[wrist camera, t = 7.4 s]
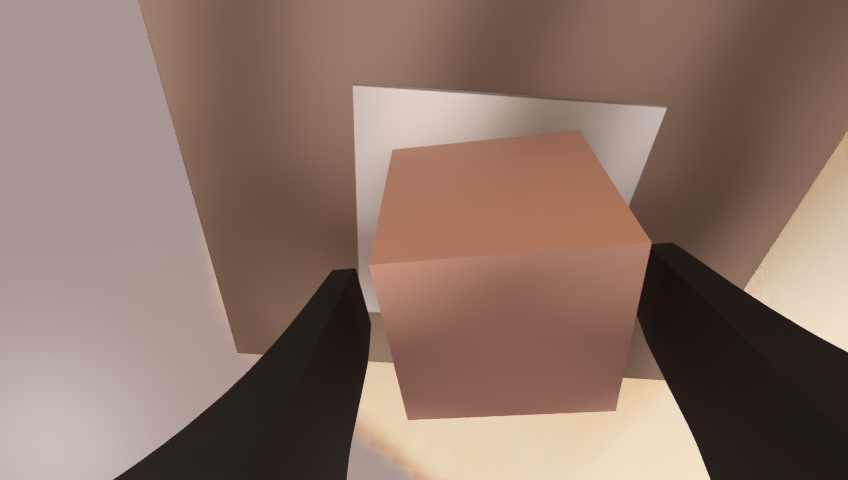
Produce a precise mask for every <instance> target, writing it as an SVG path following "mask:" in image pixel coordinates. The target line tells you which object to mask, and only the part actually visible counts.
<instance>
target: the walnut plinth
mask: <svg viewBox="0 0 848 480" xmlns="http://www.w3.org/2000/svg"><path fill="white" fill-rule="evenodd" d="M138 1H139V5H140V9H141V12H142V16H143V19H144V23H145V26H146V30H147V33H148V37H149V40H150V44H151V48H152V51H153V55H154V58H155V62H156V65H157V69H158V72H159V76H160V80H161V83H162V86H163V90H164V94H165V97H166V101H167V104H168V108H169V111H170V115H171V118H172V122H173V126H174V129H175V133H176V136H177V140H178V143H179V147H180V151H181V154H182V158H183V161H184V165H185V168H186V172H187V175H188V179H189V182H190V186H191V190H192V193H193V197H194V200H195V204H196V207H197V211H198V214H199V218H200V221H201V225H202V229H203V232H204V236H205V239H206V243H207V246H208V250H209V253H210V257H211V260H212V264H213V268H214V271H215V275H216V278H217V282H218V285H219V289H220V292H221V296H222V300H223V303H224V307H225V310H226V314H227V317H228V321H229V324H230V328H231V331H232V335H233V339H234V342H235V346H236V349H237V353H248V354H265V353H266V352H267V350H268V349H269V348H270V347H271V346H272V345H273V344H274V343H275V341H276V340H277V339H278V338H279V337H280V336H281V335H282V333H283V332H284V331H285V330H286V329H287V327H288V326H289V325H290V324H291V322H292V321H293V320H294V319H295V318H296V316H297V315H298V314H299V313H300V311H301V310H302V309H303V308H304V306H305V305H306V304H307V302H308V301H309V300H310V299H311V297H312V296H313V295H314V293H315V292H316V291H317V289H318V288H319V287H320V285H321V284H322V283H323V282H324V280H325V279H326V278H327V276H328V275H329V274H330V273H331V272H332V270H339V269H352V268H356V272H357V275H358V279H359V282H360V286H361V289H362V293H363V296H364V300H365V303H366V307H367V310H368V314H369V317H370V321H371V335H370V348H369V359H368V361H373V362H389V363H393V359H392V355H391V351H390V347H389V343H388V339H387V335H386V331H385V327H384V323H383V319H382V315H381V311H380V308H379V304H378V300H377V296H376V292H375V288H374V284H373V280H372V276H371V272H370V268H369V261H370V256H371V252H372V247H373V242H374V237H375V232H376V227H377V222H378V217H379V213H380V208H381V203H382V198H383V193H384V188H385V183H386V178H387V174H388V169H389V164H390V159H391V154H392V150H393V149H403V148H413V147H422V146H432V145H441V144H451V143H461V142H470V141H480V140H490V139H499V138H509V137H519V136H528V135H538V134H548V133H557V132H567V131H577V130H579V131H580V132H581V134H582V135H583V137H584V138H585V140H586V141H587V143H588V145H589V146H590V148H591V149H592V151H593V152H594V154H595V155H596V157H597V159H598V160H599V162H600V163H601V165H602V166H603V168H604V169H605V171H606V173H607V174H608V176H609V177H610V179H611V180H612V182H613V183H614V185H615V186H616V188H617V190H618V191H619V193H620V194H621V196H622V197H623V199H624V200H625V202H626V204H627V205H628V207H629V208H630V210H631V211H632V213H633V214H634V216H635V218H636V219H637V221H638V222H639V224H640V225H641V227H642V228H643V230H644V231H645V233H646V235H647V236H648V238H649V239H650V241H651V242H652V244H659V243H671V242H673V243H674V244H676V245H678V246H679V247H681V248H682V249H684V250H685V251H687V252H688V253H690V254H691V255H692V256H694V257H695V258H697V259H698V260H700V261H701V262H702V263H704V264H705V265H707V266H708V267H710V268H711V269H713V270H714V271H715V272H717V273H718V274H720V275H721V276H723V277H724V278H725V279H727V280H728V281H730V282H731V283H733V284H734V285H736V286H737V287H739V288H740V289H742V290H744V288H745V287H746V285H747V284H748V282H749V280H750V279H751V277H752V276H753V274H754V273H755V271H756V270H757V268H758V267H759V265H760V264H761V262H762V261H763V259H764V258H765V256H766V254H767V253H768V251H769V250H770V248H771V247H772V245H773V244H774V242H775V241H776V239H777V238H778V236H779V235H780V233H781V231H782V230H783V228H784V227H785V225H786V224H787V222H788V221H789V219H790V218H791V216H792V215H793V213H794V212H795V210H796V209H797V207H798V205H799V204H800V202H801V201H802V199H803V198H804V196H805V195H806V193H807V192H808V190H809V189H810V187H811V186H812V184H813V183H814V181H815V179H816V178H817V176H818V175H819V173H820V172H821V170H822V169H823V167H824V166H825V164H826V163H827V161H828V160H829V158H830V157H831V155H832V153H833V152H834V150H835V149H836V147H837V146H838V144H839V143H840V141H841V140H842V138H843V137H844V135H845V134H846V132H847V131H848V0H138ZM623 378H638V379H654V380H665V379H664V377H663V375H662V373H661V371H660V369H659V367H658V365H657V363H656V361H655V359H654V357H653V355H652V353H651V351H650V349H649V347H648V345H647V342H646V340H645V337H644V334H643V331H642V329H641V326H640V323H639V320H638V317H637V314H636V318H635V323H634V327H633V332H632V337H631V341H630V346H629V350H628V355H627V360H626V364H625V369H624V374H623Z"/></svg>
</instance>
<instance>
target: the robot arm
mask: <svg viewBox="0 0 848 480" xmlns="http://www.w3.org/2000/svg"><path fill="white" fill-rule="evenodd" d="M636 314H637V317H638V320H639V323H640V326H641V329H642V331H643V334H644V337H645V340H646V342H647V345H648V347H649V349H650V351H651V353H652V355H653V357H654V359H655V361H656V363H657V365H658V367H659V369H660V371H661V373H662V375H663V377H664V379H665V381H666V383H667V385H668V386H669V388H670V390H671V392H672V394H673V396H674V398H675V400H676V402H677V404H678V406H679V408H680V410H681V412H682V414H683V416H684V418H685V420H686V422H687V424H688V426H689V428H690V430H691V432H692V435H693V437H694V439H695V441H696V443H697V446H698V448H699V451H700V453H701V456H702V459H703V461H704V464H705V466H706V469H707V471H708V474H709V477H710V479H711V480H848V352H846V351H844V350H842V349H840V348H838V347H837V346H835V345H833V344H831V343H829V342H827V341H825V340H823V339H822V338H820V337H818V336H816V335H814V334H813V333H811V332H809V331H807V330H806V329H804V328H802V327H801V326H799V325H797V324H796V323H794V322H792V321H791V320H789V319H787V318H786V317H784V316H782V315H781V314H779V313H777V312H776V311H774V310H772V309H771V308H769V307H768V306H766V305H765V304H763V303H761V302H760V301H758V300H757V299H755V298H754V297H752V296H751V295H749V294H748V293H746V292H745V291H743V290H742V289H740V288H739V287H737V286H736V285H734V284H733V283H731V282H730V281H728V280H727V279H725V278H724V277H723V276H721V275H720V274H718V273H717V272H715V271H714V270H713V269H711V268H710V267H708V266H707V265H705V264H704V263H702V262H701V261H700V260H698V259H697V258H695V257H694V256H692V255H691V254H690V253H688V252H687V251H685V250H684V249H682V248H681V247H679V246H678V245H676V244H674V243H673V242H671V243H659V244H651V249H650V253H649V258H648V263H647V267H646V272H645V277H644V281H643V286H642V290H641V295H640V300H639V304H638V309H637V313H636ZM370 335H371V321H370V317H369V314H368V310H367V307H366V303H365V300H364V296H363V293H362V289H361V286H360V282H359V279H358V275H357V272H356V268H352V269H339V270H332V272H331V273H330V274H329V275H328V276H327V278H326V279H325V280H324V282H323V283H322V284H321V285H320V287H319V288H318V289H317V291H316V292H315V293H314V295H313V296H312V297H311V299H310V300H309V301H308V302H307V304H306V305H305V306H304V308H303V309H302V310H301V311H300V313H299V314H298V315H297V316H296V318H295V319H294V320H293V321H292V322H291V324H290V325H289V326H288V327H287V329H286V330H285V331H284V332H283V333H282V335H281V336H280V337H279V338H278V339H277V340H276V341H275V343H274V344H273V345H272V346H271V347H270V348H269V349H268V350H267V352H266V353H265V354H264V355H263V356H262V357H261V358H260V359H259V360H258V362H257V363H256V364H255V365H254V366H253V367H252V368H251V369H250V370H249V371H248V372H247V373H246V374H245V375H244V376H243V377H242V378H241V379H240V380H239V381H238V382H236V383H235V384H234V385H233V386H232V387H231V388H230V389H229V390H228V391H227V392H226V393H225V394H224V395H223V396H222V397H220V398H219V399H218V400H217V401H216V402H214V403H213V404H212V405H211V406H210V407H209V408H208V409H206V410H205V411H204V412H203V413H202V414H200V415H199V416H198V417H197V418H196V419H194V420H193V421H192V422H191V423H190V424H189V425H187V426H186V427H185V428H184V429H183V430H181V431H180V432H179V433H177V434H176V435H175V436H173V437H172V438H171V439H169V440H168V441H167V442H166V443H164V444H163V445H162V446H160V447H159V448H158V449H156V450H155V451H154V452H152V453H151V454H149V455H148V456H147V457H145V458H144V459H143V460H141V461H140V462H138V463H137V464H136V465H134V466H133V467H131V468H130V469H128V470H127V471H126V472H124V473H123V474H121V475H120V476H118V477H117V478H115V479H114V480H346V479H347V470H348V461H349V454H350V448H351V442H352V436H353V432H354V427H355V422H356V417H357V413H358V408H359V403H360V398H361V394H362V389H363V384H364V379H365V374H366V369H367V364H368V359H369V348H370Z"/></svg>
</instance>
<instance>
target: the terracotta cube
mask: <svg viewBox="0 0 848 480" xmlns="http://www.w3.org/2000/svg"><path fill="white" fill-rule="evenodd" d="M651 244H652V242H651V241H650V239H649V238H648V236H647V235H646V233H645V231H644V230H643V228H642V227H641V225H640V224H639V222H638V221H637V219H636V218H635V216H634V214H633V213H632V211H631V210H630V208H629V207H628V205H627V204H626V202H625V200H624V199H623V197H622V196H621V194H620V193H619V191H618V190H617V188H616V186H615V185H614V183H613V182H612V180H611V179H610V177H609V176H608V174H607V173H606V171H605V169H604V168H603V166H602V165H601V163H600V162H599V160H598V159H597V157H596V155H595V154H594V152H593V151H592V149H591V148H590V146H589V145H588V143H587V141H586V140H585V138H584V137H583V135H582V134H581V132H580V131H579V130H577V131H567V132H557V133H548V134H538V135H528V136H519V137H509V138H499V139H490V140H480V141H470V142H461V143H451V144H441V145H432V146H422V147H413V148H403V149H393V150H392V154H391V159H390V164H389V169H388V174H387V178H386V183H385V188H384V193H383V198H382V203H381V208H380V213H379V217H378V222H377V227H376V232H375V237H374V242H373V247H372V252H371V256H370V261H369V268H370V272H371V276H372V280H373V284H374V288H375V292H376V296H377V300H378V304H379V308H380V311H381V315H382V319H383V323H384V327H385V331H386V335H387V339H388V343H389V347H390V351H391V355H392V359H393V363H394V367H395V371H396V375H397V378H398V382H399V386H400V390H401V394H402V398H403V402H404V406H405V410H406V414H407V418H408V420H417V419H440V418H463V417H486V416H508V415H531V414H554V413H577V412H600V411H615V410H616V406H617V401H618V397H619V392H620V387H621V383H622V378H623V374H624V369H625V364H626V360H627V355H628V350H629V346H630V341H631V337H632V332H633V327H634V323H635V318H636V313H637V309H638V304H639V300H640V295H641V290H642V286H643V281H644V277H645V272H646V267H647V263H648V258H649V253H650V249H651Z"/></svg>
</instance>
